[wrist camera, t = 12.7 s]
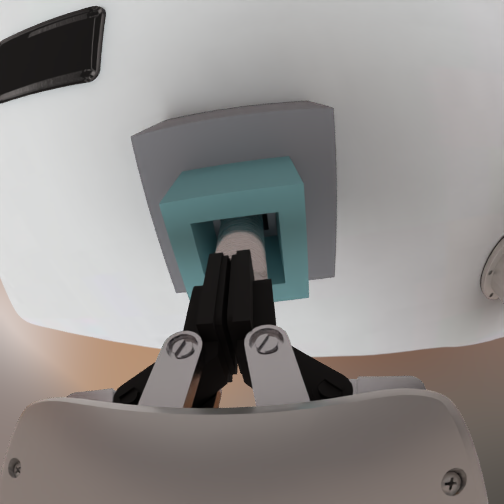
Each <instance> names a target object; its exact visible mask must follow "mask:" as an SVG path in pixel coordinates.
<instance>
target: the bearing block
mask: <svg viewBox="0 0 504 504" xmlns="http://www.w3.org/2000/svg"><path fill="white" fill-rule="evenodd" d="M131 141H132V145H133V149H134V154H135V158H136V162H137V166H138V170H139V174H140V178H141V181H142V185H143V189H144V192H145V196H146V200H147V203H148V207H149V210H150V214H151V217H152V220H153V224H154V227H155V230H156V234H157V237H158V240H159V243H160V246H161V249H162V253H163V256H164V259H165V262H166V265H167V268H168V271H169V273H170V276H171V279H172V282H173V285H174V288H175V291H176V293H182V292H187V291H186V288H185V285H184V282H183V279H182V276H181V273H180V270H179V267H178V264H177V261H176V258H175V255H174V252H173V249H172V246H171V243H170V240H169V236H168V233H167V230H166V226H165V223H164V220H163V216H162V213H161V210H160V206H159V203H160V202H161V200H162V199H163V197H164V196H165V195H166V193H167V192H168V190H169V189H170V188H171V186H172V185H173V183H174V182H175V181H176V179H177V178H178V177H179V175H180V174H181V173H182V172H183V171H188V170H194V169H199V168H205V167H211V166H217V165H224V164H230V163H237V162H244V161H252V160H259V159H267V158H276V157H285V156H289V157H290V159H291V161H292V162H293V164H294V166H295V168H296V170H297V172H298V174H299V176H300V177H301V179H302V181H303V183H304V195H305V211H306V229H307V251H308V280H314V279H323V278H331V277H334V276H335V256H336V221H337V178H336V144H335V124H334V109H333V108H332V107H329V106H325V105H321V104H317V103H314V102H310V101H298V102H283V103H271V104H261V105H252V106H244V107H236V108H229V109H222V110H216V111H210V112H204V113H199V114H193V115H188V116H183V117H178V118H174V119H169V120H165V121H163V122H161V123H159V124H156V125H154V126H152V127H150V128H148V129H145V130H143V131H141V132H139V133H137V134H135V135H133V136H131ZM262 218H263V229H264V237H269V236H277V235H278V234H277V225H276V216H275V213H266V214H262ZM221 220H222V219H220V220H213V224H214V229H215V233H216V238H217V240H218V235H219V230H220V225H221Z"/></svg>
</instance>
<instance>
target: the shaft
mask: <svg viewBox="0 0 504 504" xmlns="http://www.w3.org/2000/svg"><path fill="white" fill-rule="evenodd" d="M248 249H250V252H251V258H252V265H253V272H254V278H255V280H263V279H268V277H267V265H266V253H265V241H264V229H263V218H262V214H258V215H250V216H243V217H235V218H227V219H222V220H221V225H220V230H219V235H218V240H217V245H216V251H215V253H221V252H223V254H224V256H225V255H228V256H229V260H230V265H231V258H232V255H234V254H236V252H237V251H239V250H248Z"/></svg>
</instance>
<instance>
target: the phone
mask: <svg viewBox="0 0 504 504" xmlns="http://www.w3.org/2000/svg"><path fill="white" fill-rule="evenodd" d="M105 17H106V12H105V10H104V9H103V8H101V7H98V6H92V7H88V8H85V9H81V10H78V11H74V12H71V13H68V14H65V15H62V16H59V17H56V18H53V19H50V20H47V21H45V22H42V23H40V24H37V25H35V26H32V27H30V28H27V29H25V30H23V31H21V32H18V33H16V34H14V35H12V36H10V37H8V38H6V39H4V40H2V41H1V42H0V104H1V103H4V102H7V101H10V100H13V99H17V98H20V97H24V96H27V95H31V94H35V93H38V92H42V91H47V90H51V89H55V88H60V87H65V86H70V85H75V84H81V83H86V82H91V81H93V80H94V79H96V77H97V76H98V74H99V72H100V64H101V52H102V41H103V32H104V24H105Z"/></svg>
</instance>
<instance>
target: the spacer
mask: <svg viewBox="0 0 504 504" xmlns="http://www.w3.org/2000/svg"><path fill="white" fill-rule="evenodd" d="M159 206H160V210H161V213H162V216H163V220H164V223H165V226H166V230H167V233H168V236H169V240H170V243H171V246H172V249H173V252H174V255H175V258H176V261H177V264H178V267H179V270H180V273H181V276H182V279H183V282H184V285H185V288H186V291H187V294H188V297H189V299H190V298H191V294H192V290H193V287H194V286H202V285H203V283H204V278H205V273H206V268H207V263H208V258H209V254H212V253H215V251H216V245H217V238H216V233H215V229H214V224H213V220H220V219H227V218H235V217H243V216H250V215H258V214H266V213H275V216H276V225H277V234H278V235H277V236H269V237H264V241H265V253H266V265H267V277H268V279H271V280H272V289H273V299H274V302H277V301H285V300H294V299H302V298H309V281H308V251H307V229H306V211H305V195H304V183H303V181H302V179H301V177H300V176H299V174H298V172H297V170H296V168H295V166H294V164H293V162H292V161H291V159H290V157H289V156H285V157H276V158H267V159H259V160H252V161H244V162H237V163H230V164H224V165H217V166H211V167H205V168H199V169H194V170H188V171H183V172H182V173H181V174H180V175H179V177H178V178H177V179H176V181H175V182H174V183H173V185H172V186H171V188H170V189H169V190H168V192H167V193H166V195H165V196H164V197H163V199H162V200H161V202H160V203H159Z"/></svg>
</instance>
